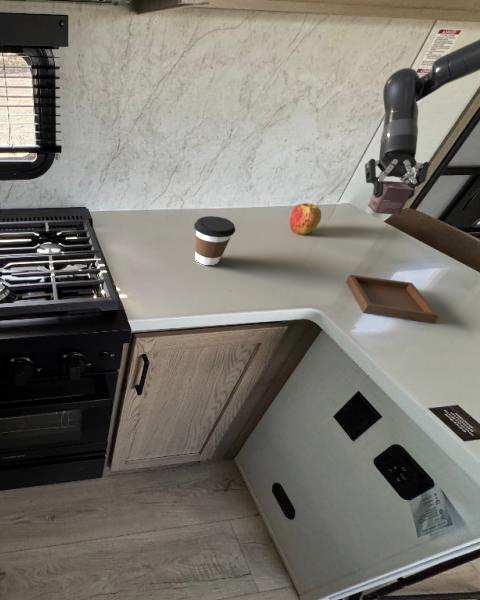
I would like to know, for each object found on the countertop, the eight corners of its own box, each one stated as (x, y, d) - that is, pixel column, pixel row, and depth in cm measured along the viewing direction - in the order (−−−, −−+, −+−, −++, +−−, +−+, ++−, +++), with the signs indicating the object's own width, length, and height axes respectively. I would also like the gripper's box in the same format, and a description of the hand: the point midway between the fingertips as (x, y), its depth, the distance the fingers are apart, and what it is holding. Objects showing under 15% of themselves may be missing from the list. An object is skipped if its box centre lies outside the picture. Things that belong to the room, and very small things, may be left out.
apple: (283, 225, 122) (293, 197, 116) (312, 228, 119) (323, 200, 113) (285, 235, 115) (296, 207, 109) (316, 239, 112) (329, 210, 107)
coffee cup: (201, 273, 97) (210, 234, 89) (180, 255, 105) (187, 218, 98) (233, 266, 99) (245, 228, 92) (210, 249, 108) (219, 213, 101)
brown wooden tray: (406, 290, 89) (411, 282, 88) (433, 323, 79) (439, 315, 77) (345, 281, 93) (349, 274, 91) (363, 312, 82) (367, 305, 81)
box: (399, 215, 94) (414, 189, 90) (373, 213, 96) (387, 187, 91) (391, 207, 99) (405, 182, 94) (366, 205, 100) (379, 180, 96)
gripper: (376, 131, 93) (370, 189, 91) (440, 134, 90) (435, 194, 88) (360, 147, 101) (354, 201, 99) (419, 150, 97) (414, 206, 95)
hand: (393, 197), depth 93 cm, fingers closed on box, 6 cm apart
